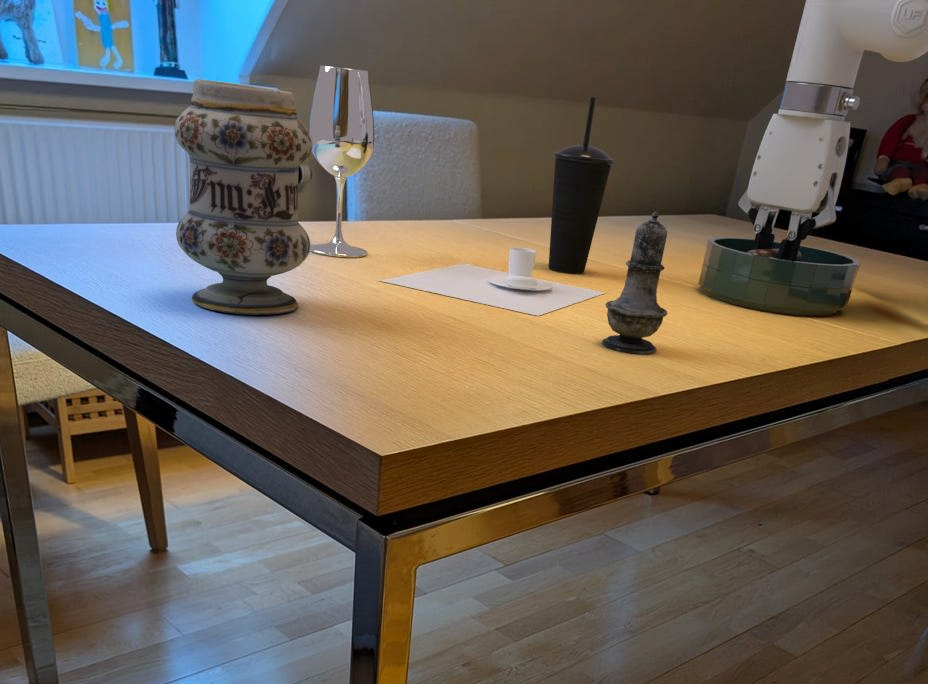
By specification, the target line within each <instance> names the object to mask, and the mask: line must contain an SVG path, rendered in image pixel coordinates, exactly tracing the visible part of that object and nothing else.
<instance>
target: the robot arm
mask: <svg viewBox="0 0 928 684" xmlns="http://www.w3.org/2000/svg"><path fill="white" fill-rule="evenodd" d="M865 51H868V52H873V53H878V54H880V55H881V56H882V57H883V58H885V59H887V60H889V61H890V62H897V63H907V62H911V61H914V60H916V59H919V58H920V57H921V56H924V55H925V54H926V53H928V0H805V4H804V7H803V11H802V17H801V19H800V23H799V28H798V32H797V36H796V40H795V43H794V48H793V52H792V56H791V59H790V60H791V61H790V63H789V68H788V71H787V76H786V79H785V84H784V88H783V90H782V91H783V92H782V94H781V95H782V96H781V99H780V104H779V108H778V112H777V113H773V114H772V116H771V118H770V120H769V122H768V125H767V127H766V129H765V131H764V134H763V137H762V140H761V141H760V144H759V148H758V151H757V154H756V156H755V160H754V162H753V167H752V170H751V174H750V177H749V182H748V186H747V188H746V190H745V191H744V193H743V194H742V196H741V197H740V198H739V200H738V203H737V204H738V206H739V208H740V209H741V210H742V211H743V212H744V213H745V214H746V215H748V218H749V221H750V222H751V224H752V226H753V227H752V231H753V233H754V234H755V236H754V239H755V240H754V244H753V248H752V250H760V249H772V246H773V242H774V241H775V238H776V236H775V233H773V230H774V227H775V224H776V222H777V221H776V220H777V217H778V215H779V212H780V210H783V211H787V212H791V214H790V220H789V223H788V228H787V229H788V230H787V234H786V238H784V239H782V240H781V241H780V242H781V244H780V248H779V251H778V255H777V259H784V260H791V261H796V258H797V255H798V251H799V247H800V245H802V244H801V243H802V241H804V240H806V239H807V237H808V236H809V235H811V234H812V233H813V232H815V231H816V230H817V229H820V228H822V227H824V226H828V225H832V224H834V223H835V222H836V220H837V214H836V213H837V212H836V204H837V201H838V197H839V194H840V190H841V186H842V185H841V184H842V180H843V176H844V171H845V167H846V162H847V157H848V150H849V142H850V133H851V122H850V121H845V118H846V116H847V115H848V112H849V111H851V110H853V111H856V110H857V109H858V108H859V105H860V102H861V97H860V96H858V95H854V91H855V90H854V87H855V83H856V80H857V76H858V72H859V69H860V66H861V62H862V58H863V54H864V52H865ZM813 213H816V214H817V215H815V216H814V217H812V215H813Z"/></svg>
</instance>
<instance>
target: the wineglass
mask: <svg viewBox="0 0 928 684" xmlns="http://www.w3.org/2000/svg"><path fill="white" fill-rule="evenodd" d="M374 118H375V117H374V109H373V100H372V91H371V85H370V77H369V71H368V70H362V69H355V68H354V69H353V68H347V67H337V66H329V65H320V66H319V71H318V76H317V79H316V84H315V89H314V94H313V100H312V105H311V110H310V118H309V126H308V127H309V128H308V129H309V130H308V132H309V133H310V136H311V139H312V151H311V154H312V155H313V157H314V158H315V159H314V160H316V162H317V163H318V164H319V166H321V168H322V169H323V170H325V171H326V172H327V173H328V174H330V175H332V176H333V177H334V180H335V186H336V213H335V214H336V215H335V231H334V236H333V238H332V239H331V240H329V241H328V242H326V243H315V244H310V250H309V252H312V253H315V254H316V255H317V254H318V255H321V256H329V257H334V258H351V259H352V258H363V257H366V256H367V255H368V251H367V250H366V249H364V248H361V247H358V246H352V245H350V244H348V243H347V242H346V241H345V239H344V237H343V230H342V227H343V226H342V225H343V224H342V222H343V202H344V201H343V199H344V191H345V190H344V189H345V183H346V181H347V178H349V177H352V176H354V175H355V174H357V173H359V172H360V171H361V170H362V169H363V168H365V166H366V165H367V164H368V162H369V160H370V159H371V158H372V157H371V156H372V154H373V151H374V145H375V119H374Z"/></svg>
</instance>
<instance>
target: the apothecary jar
mask: <svg viewBox="0 0 928 684" xmlns="http://www.w3.org/2000/svg"><path fill="white" fill-rule="evenodd" d="M192 85H193V86H192V96H191V98H190V105H189V106H188V107H187V108H185V109H184V110H183V111H181V112H180V113H179V115H178V116H177V117H176V120H175V122H174V128H173V129H174V136H175V139H176V142H177V144H178V145H179V146H180V147H181V148H182V149H183V150H184V151H185V152H186V153H187V154H188V157H189V182H190V183H189V210H188V211H187V212H185V214H184V215H183V216H182V217H181V218H180V220H179V221H178V224H177V225H176V232H175V236H176V241H177V244H178V246H179V247H180V249H181V250H182V251H183V253H185V255H187V257H189V258H190V259H191V260H192V261H194V262H195V263H197V264H199V265H201V266H203V267H205V268H207V269H208V270H211V271H213V272H216V273H218V274H219V275H220V277H222V282H217V283H212V284H209V285H207V286H206V287H205V288H201V289H199V290H197V291H196V292H194V293H193V294H192V296H191V300H192V302H193V303H194V304H195V305H197V306H199V307H200V308H203V309H206V310H211V311H216V312H220V313H228V314H234V315H235V314H236V315H252V316H253V315H255V316H256V315H257V316H260V315H261V316H262V315H263V316H265V315H268V316H269V315H279V314H285V313H290V312H293V311H295V310H297V309H298V306H299V305H298V304H299V303H298V300H297V299H296V297H294V296H293V295H290V294H289V293H286V292H284V291H283V290H282V289H280V288H278V287H276V286H273V285H269V284H268V280H269V279H271V277H273V276H278V275H281V274H285V273H287V272H290V271H293V270H295V269H296V268H298V267H300V265H302V264H303V263H304V262H305V260H306V259H307V258H308V256H309V254H310V245H311V241H310V240H311V239H310V236H309V235H308V232H307V231H306V229H305V228H304V227H303V226H302V225H301V224H300V223H299V172H300V166H301V165H302V164H303V163H305V162H306V161H307V160H308V159H309V158H310V156H311V154H312V139H311V136H310V133H309V130H308V128H307V127H306V125H304V123H303V122H301V120H299V119H298V112H297V109H296V106H295V95H294V93H293V92H291V91H287V90H286V91H285V90H281V89H280V90H279V89H274V88H269V87H268V88H267V87H263V86H262V87H261V86H254V85H249V84H248V85H247V84H240V83H235V82H233V83H232V82H226V81H218V80H209V79H201V78H195V79H194V81H193V84H192Z"/></svg>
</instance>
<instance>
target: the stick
mask: <svg viewBox="0 0 928 684" xmlns="http://www.w3.org/2000/svg"><path fill="white" fill-rule="evenodd" d="M778 251H779V249H760V250H750V251H748V252H747V253H750V254H755V255H760V256H765V257H771V258H777V255H778ZM796 261H798V262H801V261H802V255H801V253H800V251H798V255H797V258H796Z"/></svg>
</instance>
